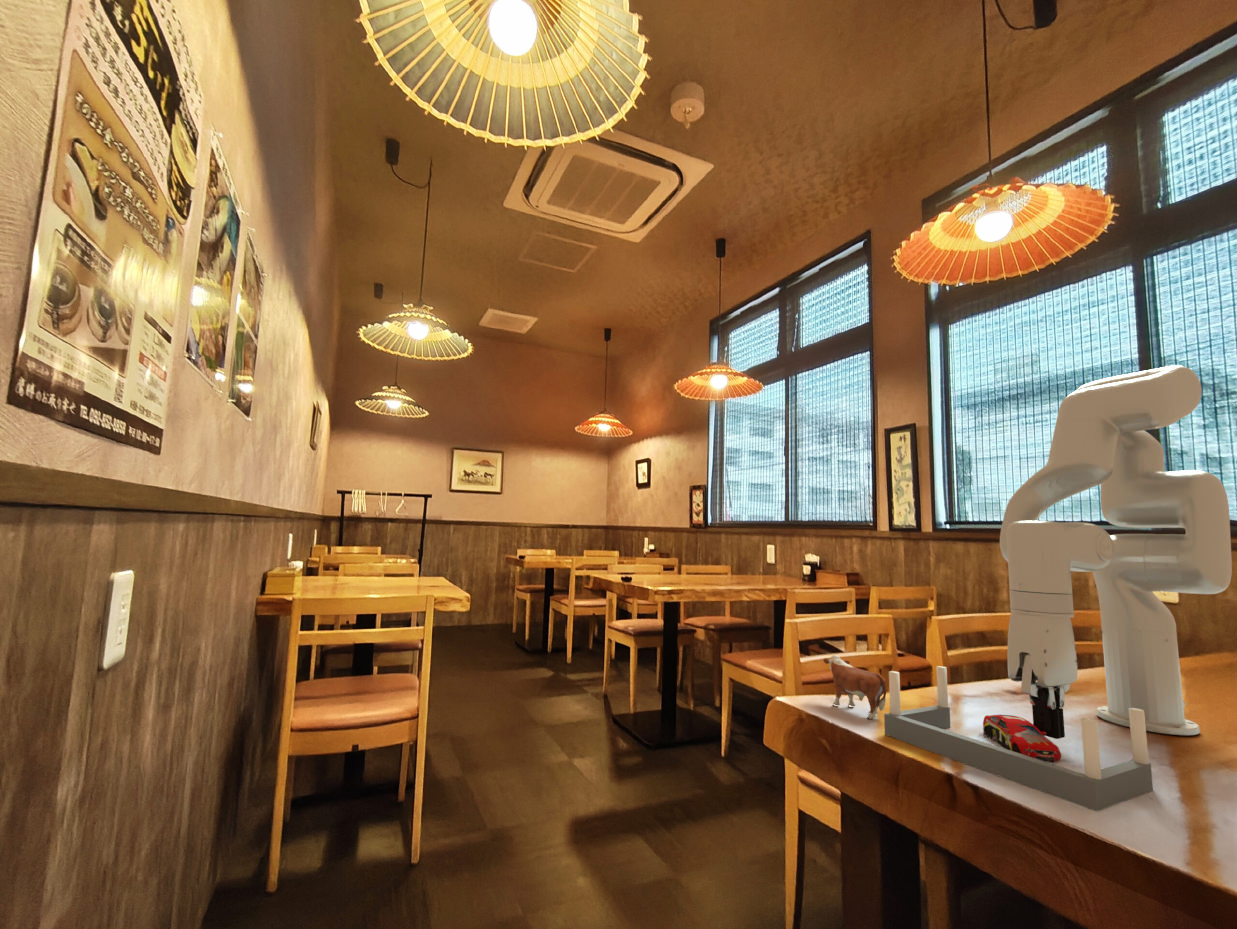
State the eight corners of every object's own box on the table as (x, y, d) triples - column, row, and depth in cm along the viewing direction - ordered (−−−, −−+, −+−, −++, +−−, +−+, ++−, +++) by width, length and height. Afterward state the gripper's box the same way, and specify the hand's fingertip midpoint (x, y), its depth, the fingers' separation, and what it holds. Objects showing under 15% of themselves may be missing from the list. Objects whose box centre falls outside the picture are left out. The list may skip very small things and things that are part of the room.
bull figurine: (837, 698, 103) (836, 652, 104) (894, 721, 91) (892, 668, 92) (817, 699, 102) (816, 653, 103) (872, 723, 89) (870, 669, 90)
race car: (1069, 769, 74) (1067, 737, 74) (1023, 765, 75) (1021, 733, 75) (1017, 736, 87) (1015, 708, 87) (978, 732, 87) (977, 705, 88)
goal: (942, 724, 90) (939, 665, 91) (1153, 789, 67) (1146, 710, 68) (884, 734, 84) (883, 671, 85) (1096, 811, 61) (1090, 723, 62)
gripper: (1039, 601, 90) (1047, 722, 87) (985, 602, 83) (991, 733, 81) (1096, 606, 83) (1106, 737, 81) (1042, 608, 77) (1051, 751, 74)
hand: (1049, 735), depth 81 cm, fingers closed
